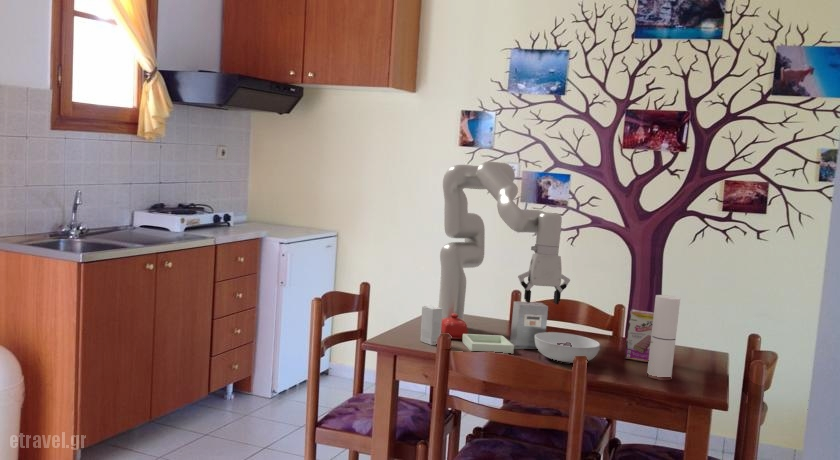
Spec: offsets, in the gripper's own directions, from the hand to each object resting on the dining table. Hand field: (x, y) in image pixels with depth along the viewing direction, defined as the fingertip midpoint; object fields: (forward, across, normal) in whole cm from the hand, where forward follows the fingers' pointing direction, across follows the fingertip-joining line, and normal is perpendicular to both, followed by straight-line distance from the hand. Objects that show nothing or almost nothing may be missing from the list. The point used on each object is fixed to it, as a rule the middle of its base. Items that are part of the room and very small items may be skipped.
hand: (541, 302), depth 249 cm
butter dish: (+18, -24, +21) cm, 36 cm away
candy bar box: (+18, +36, -2) cm, 40 cm away
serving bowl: (+18, +8, -5) cm, 20 cm away
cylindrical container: (+18, +32, -22) cm, 43 cm away
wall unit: (+17, 0, +11) cm, 21 cm away
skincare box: (+18, -34, +10) cm, 40 cm away
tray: (+17, -15, +7) cm, 24 cm away
